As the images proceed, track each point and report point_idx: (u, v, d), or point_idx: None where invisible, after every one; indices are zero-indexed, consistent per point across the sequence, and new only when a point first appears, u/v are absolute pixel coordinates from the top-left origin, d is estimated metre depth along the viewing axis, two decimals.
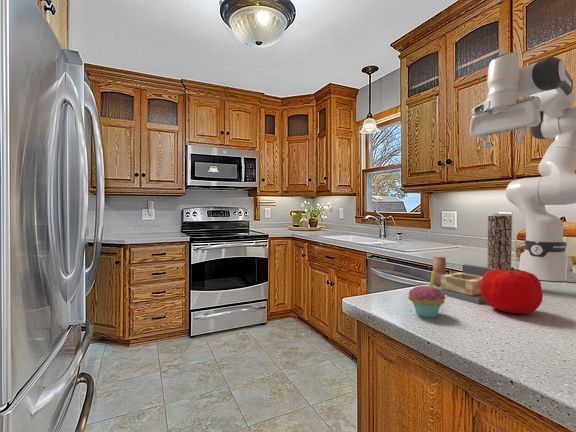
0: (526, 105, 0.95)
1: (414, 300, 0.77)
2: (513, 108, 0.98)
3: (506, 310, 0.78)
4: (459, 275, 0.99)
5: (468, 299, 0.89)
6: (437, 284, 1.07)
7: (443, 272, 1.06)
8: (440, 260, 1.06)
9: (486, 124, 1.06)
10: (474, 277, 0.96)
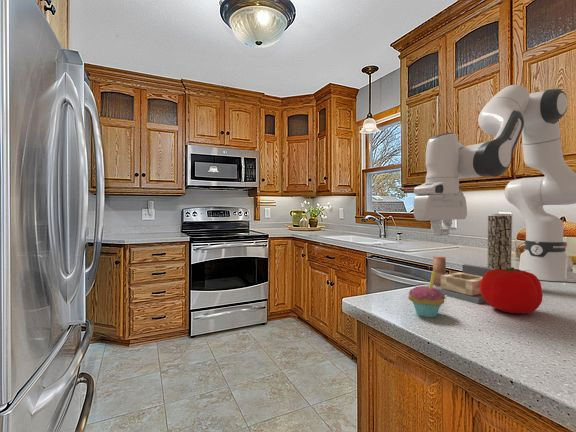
0: (463, 199, 0.93)
1: (414, 300, 0.77)
2: (455, 198, 0.91)
3: (506, 310, 0.78)
4: (459, 275, 0.99)
5: (468, 299, 0.89)
6: (437, 284, 1.07)
7: (443, 272, 1.06)
8: (440, 260, 1.06)
9: (438, 208, 0.87)
10: (474, 277, 0.96)
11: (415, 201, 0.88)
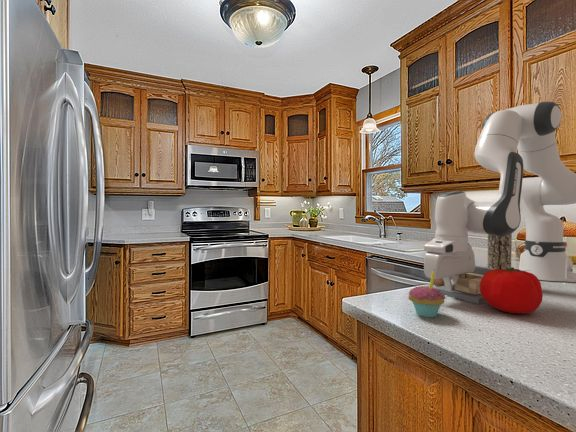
0: (471, 253, 0.96)
1: (414, 300, 0.77)
2: (464, 253, 0.94)
3: (506, 310, 0.78)
4: (462, 274, 1.00)
5: (468, 299, 0.89)
6: (437, 284, 1.07)
7: None
8: None
9: (447, 266, 0.90)
10: (477, 276, 0.97)
11: (425, 259, 0.90)
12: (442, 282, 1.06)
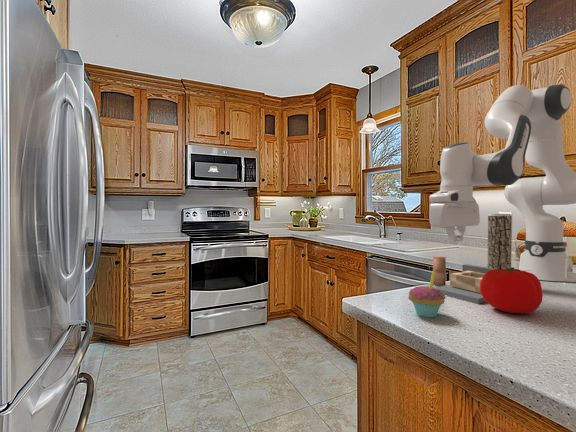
0: (476, 206, 0.96)
1: (414, 300, 0.77)
2: (469, 205, 0.95)
3: (506, 310, 0.78)
4: (468, 273, 1.02)
5: (468, 299, 0.89)
6: (437, 284, 1.07)
7: (443, 272, 1.06)
8: (440, 260, 1.06)
9: (453, 215, 0.91)
10: (483, 275, 0.99)
11: (431, 208, 0.91)
12: (442, 282, 1.06)
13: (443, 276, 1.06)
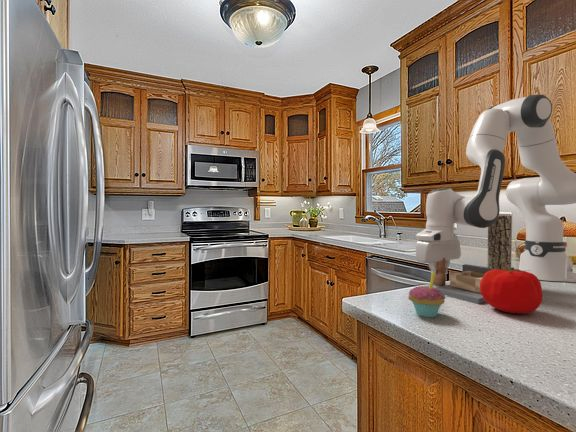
0: (457, 242, 1.10)
1: (414, 300, 0.77)
2: (451, 242, 1.08)
3: (506, 310, 0.78)
4: (468, 273, 1.02)
5: (468, 299, 0.89)
6: (437, 284, 1.07)
7: (443, 272, 1.06)
8: None
9: (436, 252, 1.05)
10: (483, 275, 0.99)
11: (417, 246, 1.05)
12: (442, 282, 1.06)
13: (443, 276, 1.06)
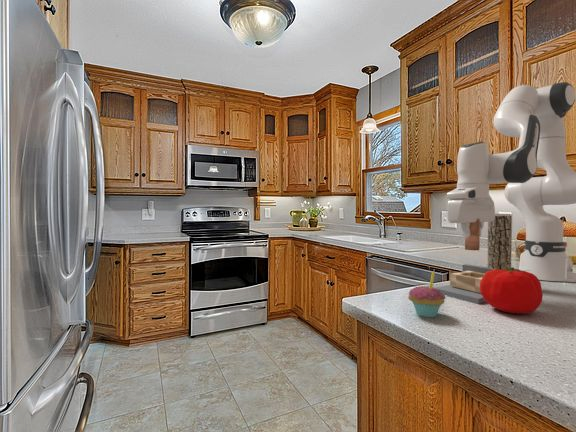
0: (491, 202, 1.00)
1: (414, 300, 0.77)
2: (485, 202, 0.99)
3: (506, 310, 0.78)
4: (468, 273, 1.02)
5: (468, 299, 0.89)
6: (470, 248, 0.97)
7: (477, 234, 0.97)
8: None
9: (470, 212, 0.95)
10: (483, 275, 0.99)
11: (449, 205, 0.95)
12: (476, 245, 0.97)
13: (477, 238, 0.97)
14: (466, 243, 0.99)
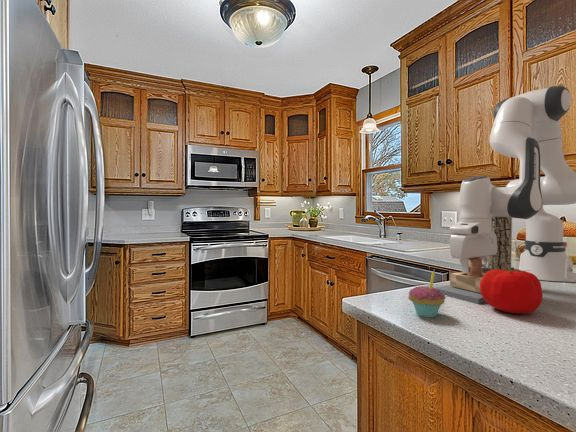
0: (494, 236, 1.00)
1: (414, 300, 0.77)
2: (487, 236, 0.98)
3: (506, 310, 0.78)
4: None
5: (468, 299, 0.89)
6: None
7: (480, 274, 0.96)
8: (476, 260, 0.96)
9: (472, 247, 0.94)
10: (483, 275, 0.99)
11: (451, 240, 0.95)
12: None
13: None
14: None
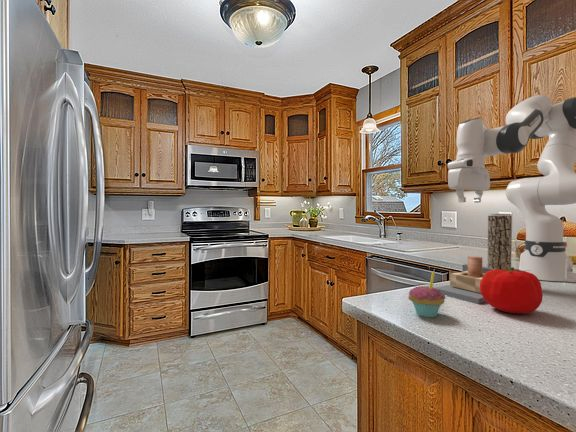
0: (487, 173, 1.13)
1: (414, 300, 0.77)
2: (481, 172, 1.12)
3: (506, 310, 0.78)
4: None
5: (468, 299, 0.89)
6: None
7: (480, 274, 0.96)
8: (477, 260, 0.96)
9: (468, 179, 1.08)
10: (483, 275, 0.99)
11: (449, 173, 1.08)
12: None
13: None
14: None
